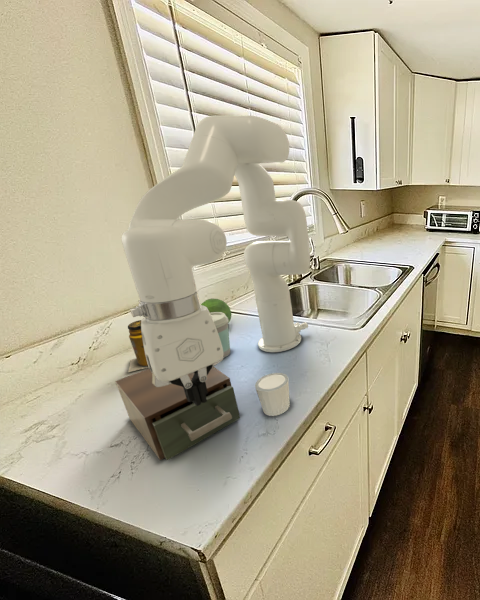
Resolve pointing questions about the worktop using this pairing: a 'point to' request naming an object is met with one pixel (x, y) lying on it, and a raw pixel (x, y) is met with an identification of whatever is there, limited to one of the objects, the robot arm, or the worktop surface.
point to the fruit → (218, 307)
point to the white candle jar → (273, 393)
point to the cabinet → (157, 400)
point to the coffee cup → (222, 330)
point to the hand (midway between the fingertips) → (198, 400)
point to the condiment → (137, 347)
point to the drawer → (195, 421)
